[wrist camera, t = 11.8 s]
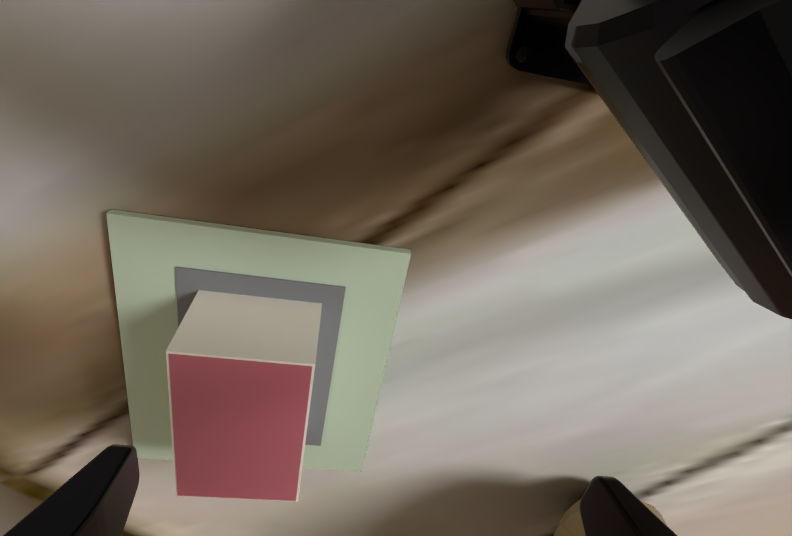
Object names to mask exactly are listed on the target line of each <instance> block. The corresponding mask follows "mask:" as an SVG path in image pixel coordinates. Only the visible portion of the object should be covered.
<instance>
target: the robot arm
mask: <svg viewBox="0 0 792 536" xmlns="http://www.w3.org/2000/svg"><path fill="white" fill-rule="evenodd" d="M513 1H514V3H515V5H516V7H518V10H517V14H516V17H515V21H514V25H513V28H512V32H511V36H510V39H509V43H508V47H507V50H506V60H507V63H508V64H509V65H510V67H512V68H514V69H517V70H519V71H524V72H529V73H534V74H539V75H544V76H549V77H554V78H559V79H564V80H569V81H574V82H579V83H584V84H589V85H592V86H593V87H594V89H595V90H596V92H597V93H598V94H599V96H600V97H601V99H602V100H603V101H604V103H605V104H606V106H607V107H608V108H609V110H610V111H611V113H612V114H613V115H614V117H615V118H616V120H617V121H618V122H619V124H620V125H621V127H622V128H623V129H624V131H625V132H626V133H627V135H628V136H629V138H630V139H631V140H632V142H633V143H634V145H635V146H636V147H637V149H638V150H639V152H640V153H641V154H642V156H643V157H644V159H645V160H646V161H647V163H648V164H649V166H650V167H651V168H652V170H653V171H654V173H655V174H656V175H657V177H658V178H659V180H660V181H661V182H662V184H663V185H664V187H665V188H666V189H667V191H668V192H669V193H670V195H671V196H672V198H673V199H674V200H675V202H676V203H677V205H678V206H679V207H680V209H681V210H682V212H683V213H684V214H685V216H686V217H687V219H688V220H689V221H690V223H691V224H692V226H693V227H694V228H695V230H696V231H697V233H698V234H699V235H700V237H701V238H702V240H703V241H704V242H705V244H706V245H707V247H708V248H709V249H710V251H711V252H712V253H713V255H714V256H715V258H716V259H717V260H718V262H719V263H720V264H721V266H722V267H723V268H724V269H725V271H726V272H727V273H728V275H729V276H730V277H731V279H732V280H733V281H734V283H735V284H736V285H737V286H738V287H740V288H741V289H742V290H744V291H745V292H746V293H747V295H748V296H749V297H750V299H751V300H752V301H753V302H755V303H757V304H759V305H761V306H763V307H765V308H767V309H769V310H770V311H772V312H774V313H776V314H778V315H780V316H783V317H786V318H789V319H792V0H513ZM521 47H525V48H526V50H527V56H526V58H525V59H524V60H523V61H521V62H518V61H517V59H516V53H517V51H518V50H519V49H520V48H521ZM138 483H139V467H138V458H137V450H136V448H135V447H134V446H131V445H111V446H109V447H107V448H106V449H104V450H103V451H102V452H101V453H100V454H99V455H97V456H96V457H95V458H94V459H93V460H92V461H90V462H89V463H88V464H87V465H86V466H84V467H83V468H82V469H81V470H80V471H79V472H77V473H76V474H75V475H74V476H73V477H72V478H70V479H69V480H68V481H67V482H66V483H64V484H63V485H62V486H61V487H60V488H59V489H57V490H56V491H55V492H54V493H53V494H52V495H50V496H49V497H48V498H47V499H46V500H44V501H43V502H42V503H41V504H40V505H39V506H37V507H36V508H35V509H34V510H33V511H32V512H30V513H29V514H28V515H27V516H26V517H24V518H23V519H22V520H21V521H20V522H19V523H17V524H16V525H15V526H14V527H13V528H12V529H11V530H9V531H8V532H7V533H6V534H5V535H3V536H122V533H123V530H124V527H125V524H126V521H127V518H128V515H129V512H130V509H131V506H132V503H133V500H134V497H135V494H136V491H137V487H138ZM580 514H581V518H582V523H583V527H584V531H585V535H586V536H677V535H676V534H675V533H674V532H673V531H672V530H671V529H670V528H668V527H667V526H666V525H665V524H664V523H663V522H662V521H661V520H660V519H659V518H658V517H657V516H656V515H655V514H654V513H653V512H652V511H651V510H649V509H648V508H647V507H646V506H645V505H644V504H643V503H642V502H641V501H640V500H639V499H638V498H637V497H636V496H635V495H634V494H633V493H632V492H630V491H629V490H628V489H627V488H626V487H625V486H624V485H623V484H622V483H621V482H620V481H619V480H617V479H616V478H614V477H606V476H596V477H594V478H593V479H592V481H591V483H590V484H589V486H588V488H587V489H586V491H585V493H584V495H583V496H582V498H581V501H580Z"/></svg>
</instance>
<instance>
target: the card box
mask: <svg viewBox="0 0 792 536" xmlns="http://www.w3.org/2000/svg"><path fill="white" fill-rule="evenodd" d="M321 310H322V303H313V302H304V301H295V300H286V299H277V298H267V297H258V296H249V295H240V294H230V293H221V292H212V291H203V290H198V292H197V294H196V296H195V298H194V300H193V302H192V303H191V305H190V307H189V309H188V311H187V313H186V315H185V316H184V318H183V320H182V322H181V324H180V326H179V328H178V329H177V331H176V333H175V335H174V337H173V339H172V341H171V342H170V344H169V346H168V348H167V350H166V361H167V376H168V391H169V406H170V421H171V435H172V450H173V465H174V480H175V495H176V496H190V497H211V498H232V499H253V500H275V501H296V502H298V497H299V490H300V482H301V474H302V466H303V458H304V450H305V442H306V434H307V426H308V418H309V411H310V403H311V395H312V387H313V379H314V371H315V363H316V354H317V345H318V337H319V328H320V319H321Z"/></svg>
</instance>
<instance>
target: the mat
mask: <svg viewBox="0 0 792 536" xmlns="http://www.w3.org/2000/svg"><path fill="white" fill-rule="evenodd" d="M106 215H107V224H108V233H109V241H110V250H111V259H112V267H113V276H114V285H115V293H116V302H117V311H118V319H119V328H120V337H121V345H122V354H123V363H124V371H125V380H126V389H127V397H128V406H129V415H130V424H131V432H132V441H133V446H134V447H135V448H136V450H137V458H144V459H161V460H173V450H172V435H171V421H170V406H169V391H168V376H167V361H166V350H167V348H168V346H169V344H170V342H171V341H172V339H173V337H174V335H175V333H176V331H177V329H178V328H179V326H180V324H181V322H182V320H183V318H184V316H185V315H186V313H187V311H188V309H189V307H190V305H191V303H192V302H193V300H194V298H195V296H196V294H197V292H198V290H203V291H212V292H221V293H230V294H240V295H249V296H258V297H267V298H277V299H286V300H295V301H304V302H313V303H322V310H321V319H320V328H319V337H318V345H317V354H316V363H315V371H314V379H313V387H312V395H311V403H310V411H309V418H308V426H307V434H306V442H305V450H304V458H303V466H302V468H307V469H323V470H340V471H356V472H362V468H363V464H364V459H365V455H366V450H367V446H368V442H369V437H370V433H371V428H372V424H373V420H374V415H375V411H376V406H377V402H378V398H379V393H380V389H381V384H382V380H383V375H384V371H385V367H386V362H387V358H388V353H389V349H390V345H391V340H392V336H393V331H394V327H395V323H396V318H397V314H398V309H399V305H400V301H401V296H402V292H403V287H404V283H405V278H406V274H407V270H408V265H409V261H410V256H411V251H410V249H402V248H395V247H387V246H380V245H373V244H365V243H358V242H350V241H343V240H335V239H328V238H320V237H313V236H306V235H298V234H291V233H283V232H276V231H268V230H261V229H254V228H246V227H239V226H231V225H224V224H216V223H209V222H202V221H194V220H187V219H179V218H172V217H164V216H157V215H149V214H142V213H135V212H127V211H120V210H112V209H111V210H110V211H108V212H107V213H106Z"/></svg>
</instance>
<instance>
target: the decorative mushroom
mask: <svg viewBox="0 0 792 536" xmlns="http://www.w3.org/2000/svg"><path fill="white" fill-rule="evenodd" d="M580 501H581V499H580V500H578V501H577V502H576V503H575V504H574V505H572V506H571V507H570V508H569V509H568V510H567V511H565V513H564V514H563V516H562V518H561V519H560V522H559V524H558V526H557V528H556V531H555V533H554V535H553V536H586V535H585V531H584V527H583V523H582V518H581V514H580ZM641 502H642V501H641ZM642 503H643V504H644V505H645V506H646V507H647V508H648V509H649V510H651V511H652V512H653V513H654V514H655V515H656V516H657V517H658V518H659V519H660V520H661V521H662V522H663V523H664V524H665V525H666V523H665V521H664V519H663V517H662V515H661V514H660V513H659V512H658V511H657V510H656V509H655V508H654V506H652V505H649V504H647V503H644V502H642ZM666 526H667V525H666Z"/></svg>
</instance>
